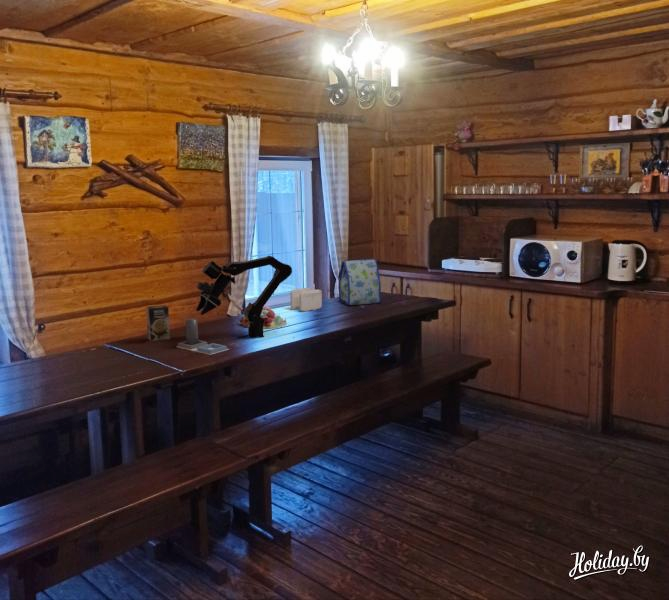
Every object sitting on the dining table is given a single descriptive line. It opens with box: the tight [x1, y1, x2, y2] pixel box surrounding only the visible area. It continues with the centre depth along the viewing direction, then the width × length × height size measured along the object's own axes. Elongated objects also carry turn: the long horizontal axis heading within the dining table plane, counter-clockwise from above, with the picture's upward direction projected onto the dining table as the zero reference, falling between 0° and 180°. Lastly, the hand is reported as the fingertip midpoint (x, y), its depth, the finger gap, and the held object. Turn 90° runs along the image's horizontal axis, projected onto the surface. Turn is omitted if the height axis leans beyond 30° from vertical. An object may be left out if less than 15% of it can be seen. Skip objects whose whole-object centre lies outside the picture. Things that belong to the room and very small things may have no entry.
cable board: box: [175, 339, 230, 357], centre depth 298 cm, size 23×11×2 cm, turn 52°
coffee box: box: [146, 304, 171, 342], centre depth 316 cm, size 9×6×16 cm
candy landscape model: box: [238, 305, 287, 330], centre depth 350 cm, size 25×24×9 cm
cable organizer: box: [289, 287, 323, 313], centre depth 384 cm, size 15×11×12 cm
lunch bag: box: [338, 258, 382, 306], centre depth 401 cm, size 22×17×26 cm
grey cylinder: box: [185, 317, 199, 345], centre depth 301 cm, size 5×5×12 cm
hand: (199, 312), depth 310 cm, fingers open, 9 cm apart
